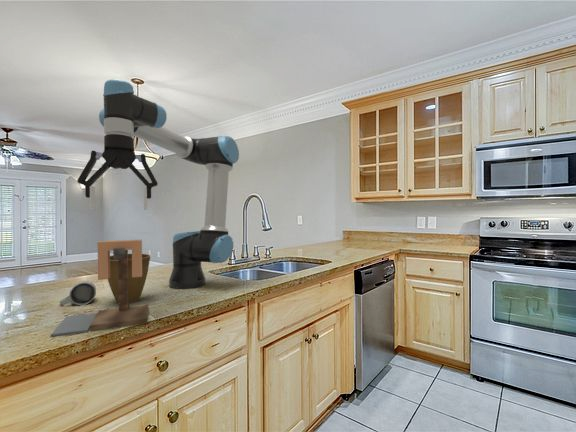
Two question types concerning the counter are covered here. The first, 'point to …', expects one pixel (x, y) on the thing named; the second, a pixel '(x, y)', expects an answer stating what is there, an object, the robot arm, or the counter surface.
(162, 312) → the counter surface
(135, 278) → the plant pot
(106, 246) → the orange notched block
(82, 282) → the ceramic mug
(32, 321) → the counter surface
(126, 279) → the hook stand
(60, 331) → the mat
